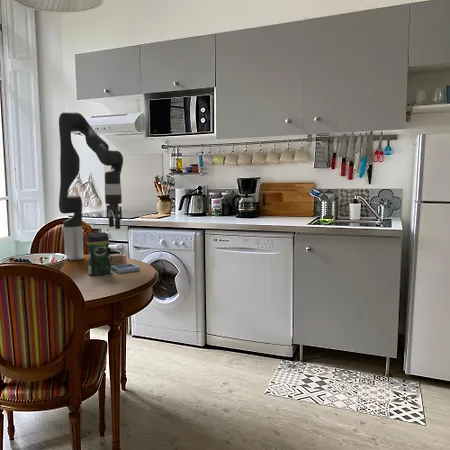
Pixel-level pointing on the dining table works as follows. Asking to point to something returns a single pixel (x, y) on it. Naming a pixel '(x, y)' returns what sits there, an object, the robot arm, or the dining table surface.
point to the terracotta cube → (124, 259)
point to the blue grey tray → (125, 268)
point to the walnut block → (115, 259)
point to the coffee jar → (98, 253)
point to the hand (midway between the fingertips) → (114, 227)
